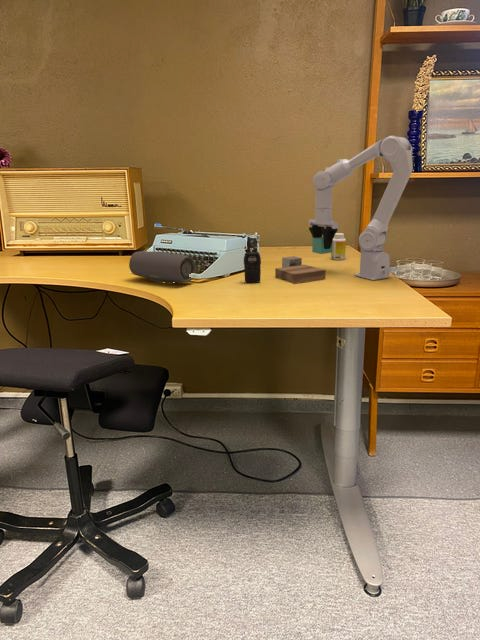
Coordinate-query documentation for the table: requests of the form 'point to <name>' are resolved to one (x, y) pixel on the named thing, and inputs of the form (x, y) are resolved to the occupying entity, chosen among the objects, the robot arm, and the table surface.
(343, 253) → the supplement bottle
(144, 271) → the bluetooth speaker
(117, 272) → the table surface
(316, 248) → the teal cube
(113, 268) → the table surface
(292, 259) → the steel cube
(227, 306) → the table surface
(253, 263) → the two-way radio
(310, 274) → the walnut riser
